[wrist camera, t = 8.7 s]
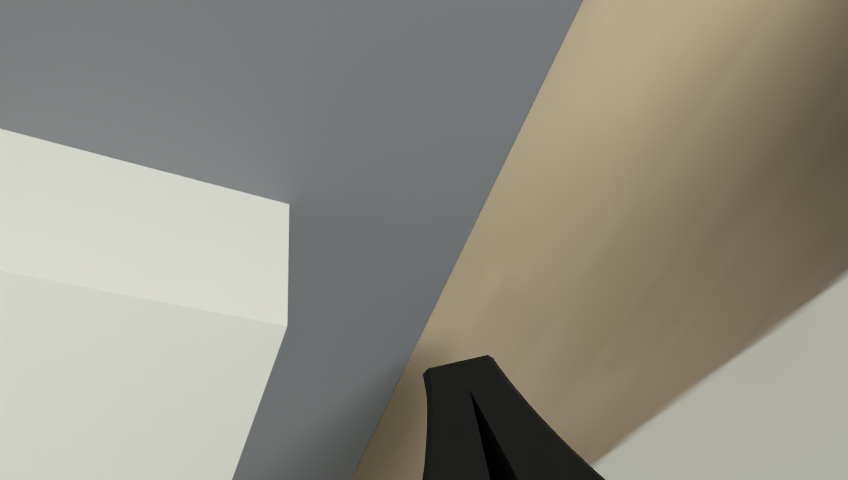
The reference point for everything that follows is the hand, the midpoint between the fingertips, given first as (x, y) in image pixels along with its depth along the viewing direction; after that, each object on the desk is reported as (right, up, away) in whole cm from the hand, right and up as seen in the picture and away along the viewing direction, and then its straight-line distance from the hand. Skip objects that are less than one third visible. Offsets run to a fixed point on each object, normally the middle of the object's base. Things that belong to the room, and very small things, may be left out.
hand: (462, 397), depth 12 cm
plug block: (-6, +2, -1) cm, 7 cm away
